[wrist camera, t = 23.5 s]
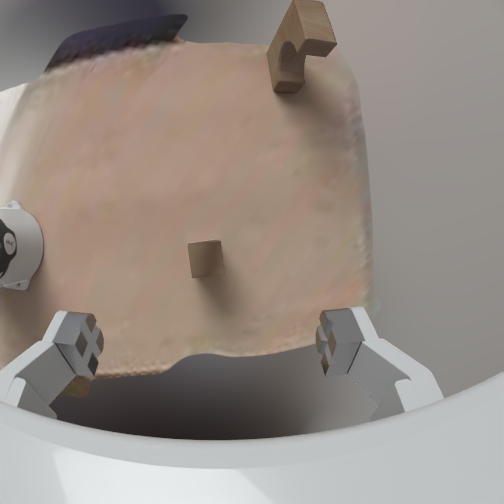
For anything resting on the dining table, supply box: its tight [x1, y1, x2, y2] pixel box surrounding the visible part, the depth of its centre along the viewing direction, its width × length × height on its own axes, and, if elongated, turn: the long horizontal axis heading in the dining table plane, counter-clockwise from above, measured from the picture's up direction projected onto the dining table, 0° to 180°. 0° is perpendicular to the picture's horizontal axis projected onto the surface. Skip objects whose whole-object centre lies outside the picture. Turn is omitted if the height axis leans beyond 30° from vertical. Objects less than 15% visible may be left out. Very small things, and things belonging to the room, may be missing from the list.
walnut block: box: [188, 240, 225, 278], centre depth 48 cm, size 5×5×10 cm
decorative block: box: [267, 0, 337, 92], centre depth 44 cm, size 11×6×20 cm, turn 5°
